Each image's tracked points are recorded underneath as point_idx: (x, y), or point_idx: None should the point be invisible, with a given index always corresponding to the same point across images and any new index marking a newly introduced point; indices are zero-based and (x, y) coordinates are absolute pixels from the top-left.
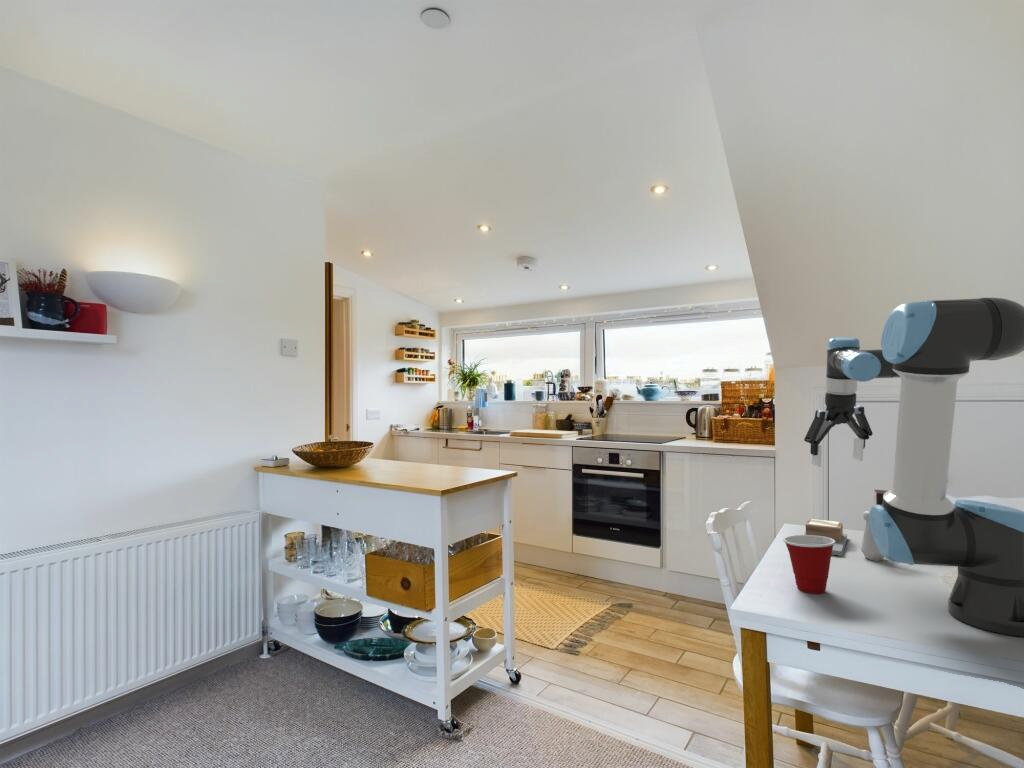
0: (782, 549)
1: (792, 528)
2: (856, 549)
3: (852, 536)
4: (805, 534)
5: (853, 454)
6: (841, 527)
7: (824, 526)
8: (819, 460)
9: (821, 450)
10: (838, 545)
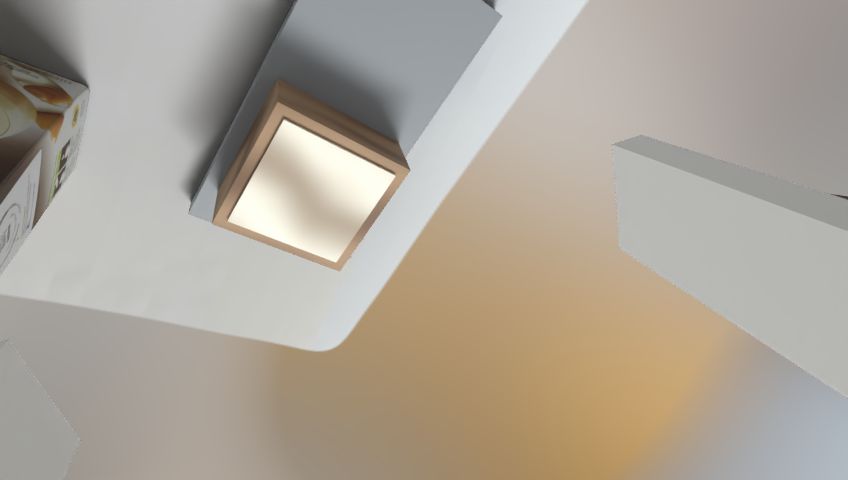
0: (545, 25)
1: (351, 315)
2: (216, 33)
3: (153, 238)
4: None
5: (59, 477)
6: (237, 171)
7: (338, 140)
8: (692, 158)
9: (811, 218)
10: (314, 14)
